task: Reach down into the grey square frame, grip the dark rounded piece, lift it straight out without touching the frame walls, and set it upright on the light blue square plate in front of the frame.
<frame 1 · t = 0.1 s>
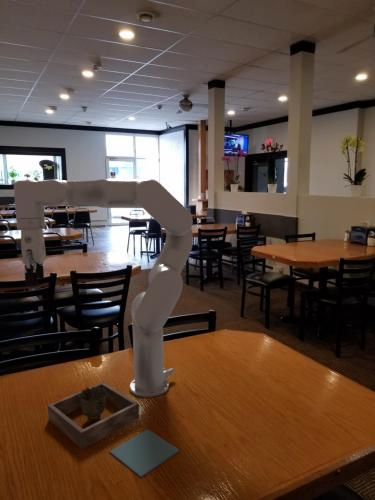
hand: (35, 282, 113), 37 cm above the table, tool pointing down, fingers open, 9 cm apart
grey square frame: (94, 419, 108), on the table
light blue square plate: (144, 451, 94), on the table
dark rounded piece: (94, 419, 108), resting in grey square frame
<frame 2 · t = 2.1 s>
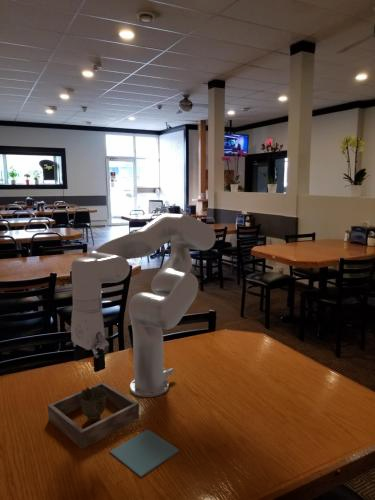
hand: (89, 364, 105), 16 cm above the table, tool pointing down, fingers open, 9 cm apart
nothing on the table moved.
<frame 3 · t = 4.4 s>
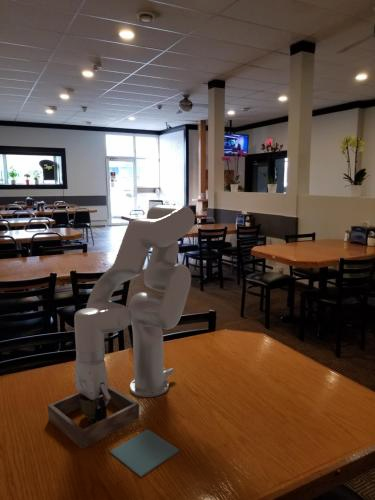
hand: (93, 413, 107), 2 cm above the table, tool pointing down, fingers closed on dark rounded piece, 6 cm apart
dark rounded piece: (94, 419, 108), resting in grey square frame, touching gripper
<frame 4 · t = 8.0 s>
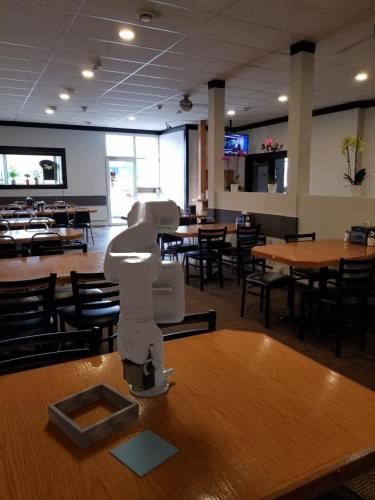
hand: (138, 382, 92), 18 cm above the table, tool pointing down, fingers closed on dark rounded piece, 6 cm apart
dark rounded piece: (138, 390, 92), point 16 cm above the table, touching gripper
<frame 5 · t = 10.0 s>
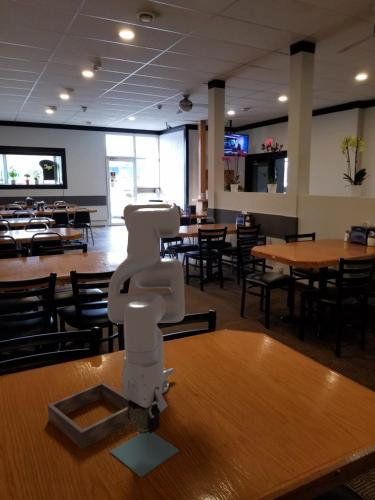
hand: (143, 423, 93), 8 cm above the table, tool pointing down, fingers closed on dark rounded piece, 6 cm apart
dark rounded piece: (143, 431, 93), point 6 cm above the table, touching gripper
when the fingers open (4 cm above the table, at t = 11.8 s): dark rounded piece drops 1 cm, resting on light blue square plate.
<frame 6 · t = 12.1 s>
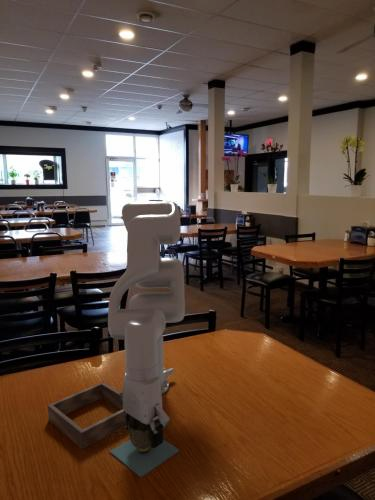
hand: (144, 436, 93), 4 cm above the table, tool pointing down, fingers open, 9 cm apart
dark rounded piece: (143, 450, 94), resting on light blue square plate
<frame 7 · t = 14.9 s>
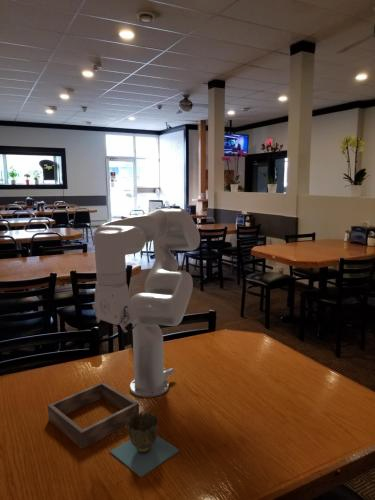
hand: (115, 340, 102), 24 cm above the table, tool pointing down, fingers open, 9 cm apart
nothing on the table moved.
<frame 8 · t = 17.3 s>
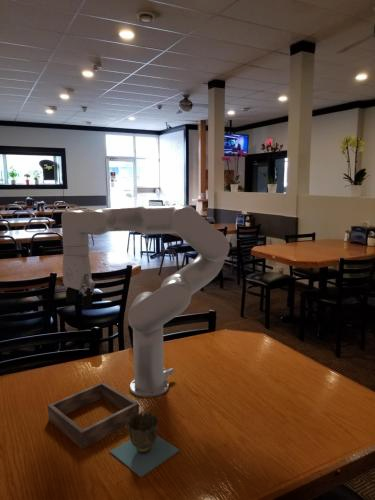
hand: (79, 304, 120), 28 cm above the table, tool pointing down, fingers open, 9 cm apart
nothing on the table moved.
at the end: dark rounded piece inside the target area on the light blue square plate (0.2 cm from its centre), point 0.2 cm above the light blue square plate's base; dark rounded piece tilted 0°; dark rounded piece touching light blue square plate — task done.
